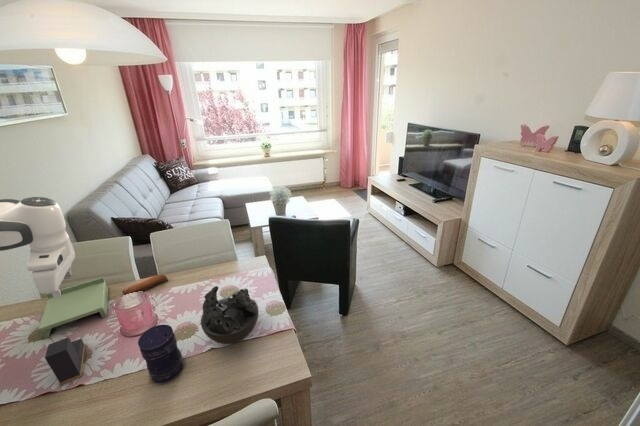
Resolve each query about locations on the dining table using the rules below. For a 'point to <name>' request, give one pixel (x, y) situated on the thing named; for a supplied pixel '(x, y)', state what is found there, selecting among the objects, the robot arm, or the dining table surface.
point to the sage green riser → (75, 304)
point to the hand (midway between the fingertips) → (63, 286)
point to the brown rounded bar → (145, 284)
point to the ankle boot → (66, 359)
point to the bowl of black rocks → (229, 316)
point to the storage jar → (161, 353)
